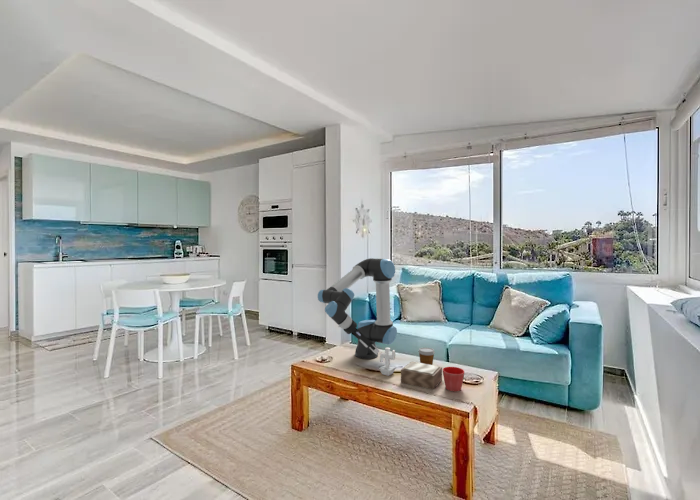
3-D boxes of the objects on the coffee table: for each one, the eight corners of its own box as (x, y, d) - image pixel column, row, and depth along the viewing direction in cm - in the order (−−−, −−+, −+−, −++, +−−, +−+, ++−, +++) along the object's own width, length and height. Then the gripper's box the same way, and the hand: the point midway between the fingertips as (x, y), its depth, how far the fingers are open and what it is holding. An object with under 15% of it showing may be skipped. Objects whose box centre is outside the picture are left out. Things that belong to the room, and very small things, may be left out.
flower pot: (451, 394, 184) (452, 375, 184) (438, 386, 194) (438, 368, 194) (468, 391, 188) (469, 372, 188) (454, 383, 198) (454, 365, 198)
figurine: (383, 370, 217) (383, 345, 217) (397, 373, 212) (398, 347, 211) (377, 373, 212) (377, 347, 211) (391, 377, 206) (391, 350, 206)
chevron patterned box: (400, 382, 199) (400, 368, 199) (410, 373, 212) (410, 360, 212) (433, 389, 190) (433, 374, 190) (441, 379, 203) (442, 366, 203)
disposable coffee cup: (416, 370, 217) (416, 350, 216) (420, 366, 225) (421, 346, 225) (432, 373, 212) (432, 352, 212) (436, 368, 221) (436, 348, 220)
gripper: (336, 324, 213) (360, 348, 219) (350, 335, 190) (377, 361, 195) (344, 314, 215) (368, 338, 220) (360, 324, 191) (386, 350, 197)
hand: (372, 349), depth 208 cm, fingers open, 13 cm apart
